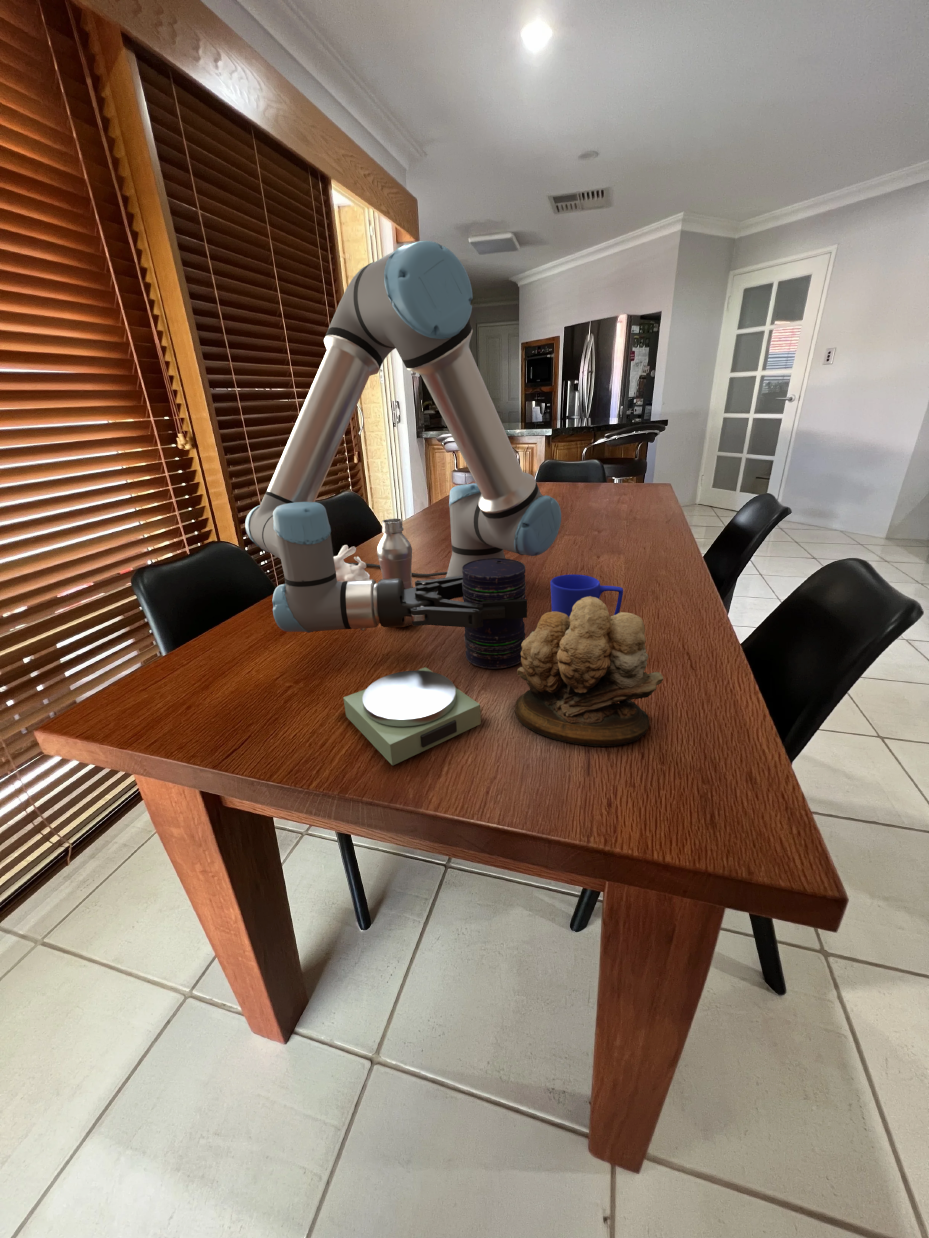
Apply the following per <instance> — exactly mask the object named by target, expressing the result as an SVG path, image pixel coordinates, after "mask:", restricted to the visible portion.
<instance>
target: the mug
mask: <svg viewBox="0 0 929 1238" xmlns="http://www.w3.org/2000/svg"><path fill="white" fill-rule="evenodd" d="M604 592H617V593H618V595H617V600H616V601H617V602H616V605H615V606H616V607H615V610H614V612H613V613H614V614H613V615H616V614H618V613H620V612H621V608H622V601H623V596H624V588H623V587H621V586H615V585H601V581H600V580H598V579H597V578H595V577H593V576H589V575H584V574H562V575H558V576H554V577H552V579H551V580H550V599H551V600H550V601H551V602H550V603H551V612H552V611H555V612H556V611H557V612H561V613H564V614H566V615H567V616H568V617H570V615H571V612H572V607H573V605H574V604H575V603H576V602H577V601H579V600H581V599H582V598H585V597H589V596H591V597H596V598H598V599H599V600H600V598H601V595H602V594H603V593H604ZM569 619H570V618H569Z"/></svg>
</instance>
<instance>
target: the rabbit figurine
mask: <svg viewBox="0 0 929 1238" xmlns="http://www.w3.org/2000/svg"><path fill="white" fill-rule="evenodd" d="M348 545H349V544H344V545H342V546H341V548H340V550H339V552H338V554H337V555H334V564H335V570H336V578H337V581H342V582H344V581H354V580H370V579H371V578H370V577H371V575H370V573H369V572H368V571H366V570H365V569H366V568H367V566H366V564H365V563H366V562H365V561H362V560H361V558H360V557H359V556H354V557H353V560H355V561H356V563H359V564H358V565H357V566H356V565H354V564H348V563H349V562H346V561H345V559H346V558H348V557H350V556H352V555H354V554H355V553H356V551H357V547H356V546H355V545H354V546H351V547H349V546H348Z"/></svg>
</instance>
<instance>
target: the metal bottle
mask: <svg viewBox="0 0 929 1238" xmlns="http://www.w3.org/2000/svg"><path fill="white" fill-rule="evenodd" d="M403 525H404V523H403V519H402V518H386V519H383V520H381V532H382V533H383V536H382V537H381V538H380V540H379V543H378V545H377V548H376V556H377V559H378V563H379V565H380V567H381V568H380V570H381V576H382V577H381V578H382V579H395V578H400V579H402V581H403V583H404V588H405V589H408V588H414V587H413V578H412V577H413V576H412V573H413V572H412V565H413V547H412V543H411V542H410V541H409V539H408V538H407V536H405V534H404V533H403V531H404V526H403ZM408 626H412V618H411V617H407V616H406V622H405V625H404V626H401V627H400V628H402V627H403V628H404V627H408Z"/></svg>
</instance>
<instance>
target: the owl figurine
mask: <svg viewBox="0 0 929 1238" xmlns="http://www.w3.org/2000/svg"><path fill="white" fill-rule="evenodd" d="M569 618H570V619H569ZM645 633H646V627H645V623H644V620H643V618H642V617H640V616H639V615H636V614H634V613H633V612H632V613H630V612H623V611H619V613H618V614H616V615H614V614H613V615H611V614H610V613H609V609H608V607H607V604H606V603H604V602H603V601H602V600H601V599H600V598H599V599H598V598H596V597H591V596H589V597H585V598H582V599H581V600H579V601H577V602H576V603H575V604H574V605H573V607H572V612H571V615H570V617H568V616H567V615H566V614H564V613H561V612H557V611H556V612H555V611H552V610H551V611H548V612H545V613H543V614H542V615H541V616H540V618H539V621H538V623H537V624H536V628H535V630H534V631H533V630H532V631H531V633H530V634H529V635H528V636H527V637H525V640H524V641H523V642H522V644H521V647H522V651H521V656H522V657H521V661H520V663H521V666H520V667H519V668H517V671H516V672H517V676H519V678H521V679H522V680H523V681H526V684H527V686H528V689H529V690H527V691H525V693H524V694H522V695H520V697H518V699H517V700H516V702H515V706H514V708H515V709H514V710H515V711H514V714H515V716H516V718H517V720H518V722H519V723H520V724H521V725H522V726H524V727H525V728H527V729H529V730H530V731H532V732H534V733H537V734H539V735H542V736H544V737H546V738H550V739H552V740H556V741H559V742H564V743H569V744H574V745H583V746H589V747H612V746H613V747H615V746H621V745H626V744H630V743H633V742H636V741H638V740H640V738H641V737H644V736H645V735H646V734H647V731H648V729H649V726H650V717H649V716H648V714H647V713H646V711H645V710H643V709H642V708H641V707H640V706H639V705H638V704H637V703H636V702H635V701H634V700H638V699H639V700H643V699H646V698H649V697H650V696H652V695H653V693H654V692H655V691H657V686H659V685H661V684H662V683H663V681H664V676H663V674H662V673H661V672H660V671H653V672H649V673H648V672H645V671H646V668H647V665H648V662H647V661H648V659H649V653H647V648H646V642H647V640H646V634H645Z"/></svg>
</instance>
